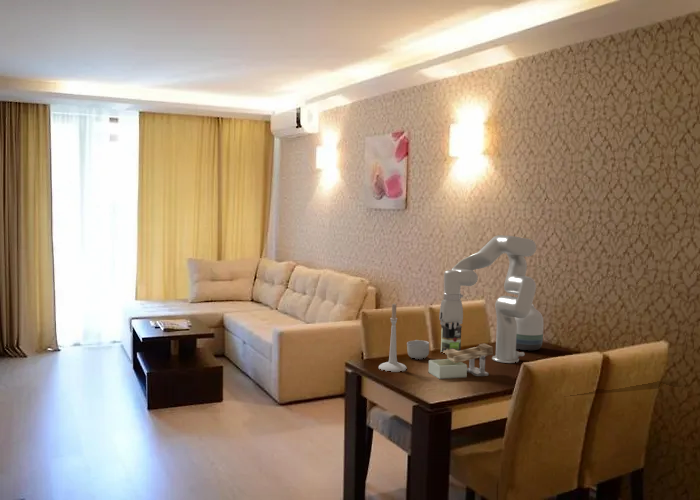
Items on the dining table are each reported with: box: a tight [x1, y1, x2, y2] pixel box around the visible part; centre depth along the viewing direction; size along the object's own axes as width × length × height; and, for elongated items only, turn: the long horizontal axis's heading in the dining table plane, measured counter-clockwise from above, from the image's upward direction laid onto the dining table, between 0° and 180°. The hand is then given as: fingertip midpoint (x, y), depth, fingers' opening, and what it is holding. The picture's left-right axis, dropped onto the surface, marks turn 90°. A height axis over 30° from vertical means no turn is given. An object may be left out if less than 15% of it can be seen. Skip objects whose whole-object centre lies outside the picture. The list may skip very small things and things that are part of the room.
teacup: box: [406, 339, 430, 360], centre depth 290 cm, size 14×11×8 cm
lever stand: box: [467, 355, 490, 377], centre depth 263 cm, size 6×11×9 cm, turn 17°
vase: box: [515, 303, 544, 352], centre depth 314 cm, size 17×17×24 cm
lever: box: [442, 343, 494, 363], centre depth 265 cm, size 19×15×4 cm
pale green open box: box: [428, 358, 468, 380], centre depth 259 cm, size 13×11×6 cm
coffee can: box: [440, 324, 463, 353], centre depth 302 cm, size 10×10×14 cm
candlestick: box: [378, 303, 408, 373], centre depth 267 cm, size 13×13×30 cm
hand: (451, 337), depth 269 cm, fingers closed
